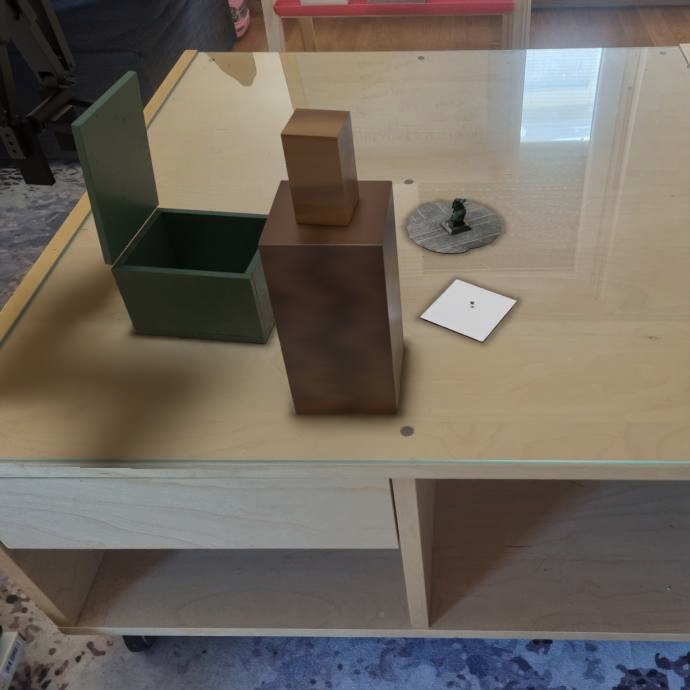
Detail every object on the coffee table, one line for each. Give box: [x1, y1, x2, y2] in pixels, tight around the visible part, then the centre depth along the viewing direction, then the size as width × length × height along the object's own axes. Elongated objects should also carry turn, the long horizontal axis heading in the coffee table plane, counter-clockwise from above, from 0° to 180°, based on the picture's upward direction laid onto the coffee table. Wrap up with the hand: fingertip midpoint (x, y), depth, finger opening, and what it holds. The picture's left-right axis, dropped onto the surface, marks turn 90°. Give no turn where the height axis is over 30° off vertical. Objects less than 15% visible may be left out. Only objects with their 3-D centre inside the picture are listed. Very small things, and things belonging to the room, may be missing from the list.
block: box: [280, 107, 359, 226], centre depth 60 cm, size 4×4×8 cm
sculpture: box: [406, 197, 502, 254], centre depth 97 cm, size 12×9×8 cm
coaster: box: [420, 278, 517, 343], centre depth 84 cm, size 8×8×1 cm
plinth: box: [258, 179, 405, 415], centre depth 70 cm, size 10×10×20 cm
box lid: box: [23, 70, 160, 267], centre depth 74 cm, size 15×12×7 cm
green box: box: [110, 207, 275, 344], centre depth 82 cm, size 15×12×9 cm
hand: (58, 165), depth 75 cm, fingers closed on box lid, 6 cm apart
